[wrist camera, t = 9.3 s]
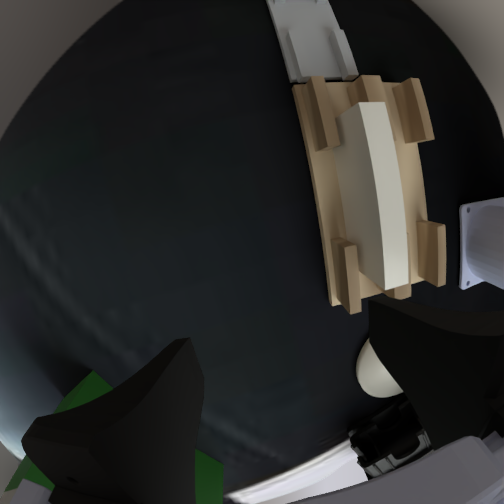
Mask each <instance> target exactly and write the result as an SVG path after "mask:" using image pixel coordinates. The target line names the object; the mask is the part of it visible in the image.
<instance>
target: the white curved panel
mask: <svg viewBox="0 0 504 504" xmlns="http://www.w3.org/2000/svg"><path fill="white" fill-rule="evenodd" d="M335 122H336V126H337V131H338V135H339V140H340V146H337V147H335V148H332V150H333V155H334V160H335V165H336V171H337V176H338V182H339V188H340V194H341V200H342V206H343V213H344V220H345V227H346V235H347V240H348V241H350V242H352V243H353V244H355V245H356V247H357V257H358V268H359V272H361V273H362V274H364V275H365V276H366V277H368V278H369V279H370V280H372V281H373V282H375V283H376V284H377V285H379V286H380V287H381V288H383V289H384V290H388V289H392V288H395V287H398V286H402V285H405V284H408V283H409V282H408V249H407V233H406V221H405V211H404V202H403V194H402V186H401V179H400V173H399V166H398V161H397V155H396V150H395V145H394V140H393V135H392V130H391V126H390V122H389V117H388V113H387V109H386V105H385V102H358V103H357V104H355V105H354V106H352V107H351V108H349V109H348V110H346V111H345V112H343V113H342V114H341V115H339V116H338V117H336V118H335Z"/></svg>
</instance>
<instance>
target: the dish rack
mask: <svg viewBox="0 0 504 504" xmlns="http://www.w3.org/2000/svg"><path fill="white" fill-rule="evenodd" d="M292 91H293V95H294V99H295V104H296V108H297V112H298V116H299V121H300V125H301V130H302V134H303V139H304V143H305V148H306V153H307V158H308V163H309V168H310V173H311V179H312V184H313V190H314V195H315V201H316V207H317V213H318V219H319V226H320V232H321V239H322V246H323V253H324V261H325V269H326V277H327V285H328V294H329V302H330V304H331V305H332V306H335V305H339V304H342V305H343V306H344V308H345V309H346V310H347V311H348V312H349V313H350V314H354V313H357V312H361V299H362V298H365V297H369V296H373V295H376V294H380V293H384V294H386V295H387V296H388V297H392V298H396V299H400V300H401V299H404V298H407V297H410V296H411V284H413V283H416V282H419V281H422V280H426V281H428V282H430V283H432V284H433V285H435V286H437V287H439V286H442V285H445V281H446V232H445V225H444V224H439V223H435V222H431V221H427V210H426V200H425V191H424V183H423V176H422V169H421V163H420V157H419V151H418V146H417V143H418V142H423V141H428V140H433V139H434V134H433V130H432V125H431V121H430V117H429V113H428V109H427V105H426V101H425V97H424V94H423V90H422V87H421V84H420V81H419V79H417V78H409V79H407V80H406V81H404V82H402V83H387V82H382V81H381V78H380V76H376V75H361V76H360V77H359V78H357V79H356V80H355V81H354V82H330V83H325V79H324V76H311V77H310V78H309V80H308V81H307V83H306V84H299V85H294V86H293V88H292ZM358 102H385V105H386V109H387V113H388V117H389V122H390V126H391V130H392V135H393V140H394V145H395V150H396V155H397V161H398V166H399V173H400V179H401V186H402V194H403V202H404V211H405V221H406V233H407V249H408V282H409V283H408V284H405V285H402V286H398V287H395V288H392V289H388V290H384V289H383V288H381V287H380V286H379V285H377V284H376V283H375V282H373V281H372V280H370V279H369V278H368V277H366V276H365V275H364V274H362V273H361V272H359V268H358V257H357V247H356V245H355V244H353V243H352V242H350V241H348V240H347V235H346V227H345V220H344V213H343V206H342V200H341V194H340V188H339V182H338V176H337V171H336V165H335V160H334V155H333V150H332V148H335V147H337V146H340V140H339V135H338V131H337V126H336V122H335V118H336V117H338V116H339V115H341V114H342V113H343V112H345V111H346V110H348V109H349V108H351V107H352V106H354V105H355V104H357V103H358Z"/></svg>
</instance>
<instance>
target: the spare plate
mask: <svg viewBox="0 0 504 504" xmlns="http://www.w3.org/2000/svg"><path fill="white" fill-rule="evenodd" d="M356 376H357V379H358V381H359V383H360V385H361V387H362V388H363V390H364V391H365V392H366V393H368V394H369V395H371V396H374V397H390V396H394V395H397V394H399V393H402V392H403V390H402V389H401V388H400V387H399V385H398V384H397V383H396V381H395V380H394V379H393V377H392V376H391V375H390V374H389V372H388V371H387V370H386V368H385V367H384V366H383V364H382V363H381V362H380V360H379V359H378V357H377V355H376V354H375V352H374V350H373V348H372V346H371V344H370V342H369V338H368V340H367V341H366V342H365V344H364V346H363V347H362V349H361V351H360V353H359V356H358V359H357V363H356Z"/></svg>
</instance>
